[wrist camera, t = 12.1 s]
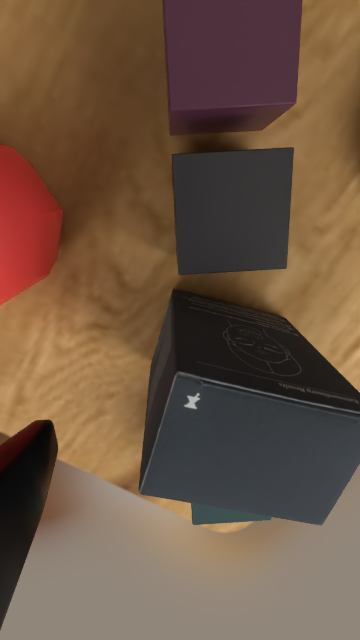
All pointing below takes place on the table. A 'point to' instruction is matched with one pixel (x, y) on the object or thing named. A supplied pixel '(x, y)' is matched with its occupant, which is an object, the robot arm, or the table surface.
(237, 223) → the block
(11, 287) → the apple
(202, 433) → the box
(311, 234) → the table surface
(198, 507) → the block
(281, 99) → the block
